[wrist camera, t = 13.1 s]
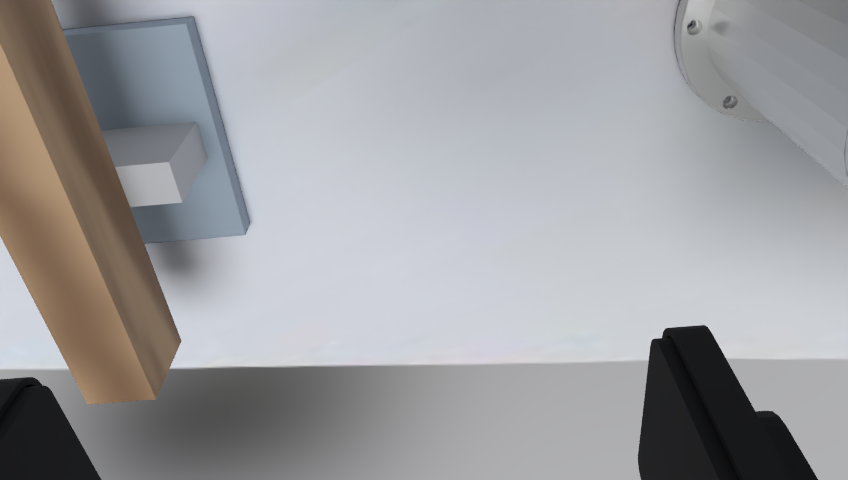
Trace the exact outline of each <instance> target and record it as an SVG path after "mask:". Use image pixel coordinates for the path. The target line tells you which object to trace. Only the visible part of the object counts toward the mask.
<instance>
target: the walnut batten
mask: <svg viewBox="0 0 848 480" xmlns="http://www.w3.org/2000/svg"><path fill="white" fill-rule="evenodd" d="M0 236H1V238H2V240H3V242H4V244H5V246H6V248H7V250H8V252H9V254H10V255H11V257H12V259H13V261H14V263H15V265H16V267H17V269H18V271H19V273H20V275H21V277H22V279H23V281H24V282H25V284H26V286H27V288H28V290H29V292H30V294H31V296H32V298H33V300H34V302H35V304H36V306H37V308H38V309H39V311H40V313H41V315H42V317H43V319H44V321H45V323H46V325H47V327H48V329H49V331H50V333H51V335H52V336H53V338H54V340H55V342H56V344H57V346H58V348H59V350H60V352H61V354H62V356H63V358H64V360H65V362H66V363H67V365H68V367H69V369H70V371H71V373H72V375H73V377H74V379H75V381H76V383H77V385H78V387H79V389H80V390H81V392H82V394H83V396H84V398H85V400H86V402H87V404H99V403H113V402H125V401H139V400H152V399H156V397H157V395H158V393H159V391H160V388H161V386H162V384H163V382H164V379H165V377H166V375H167V372H168V370H169V368H170V366H171V363H172V361H173V359H174V356H175V354H176V352H177V350H178V347H179V345H180V343H181V339H180V336H179V334H178V331H177V328H176V326H175V323H174V321H173V318H172V315H171V313H170V310H169V307H168V305H167V302H166V300H165V297H164V294H163V292H162V289H161V287H160V284H159V281H158V279H157V276H156V274H155V271H154V268H153V266H152V263H151V260H150V258H149V255H148V253H147V250H146V247H145V245H144V242H143V240H142V237H141V234H140V232H139V229H138V226H137V224H136V221H135V219H134V216H133V213H132V211H131V208H130V206H129V203H128V200H127V198H126V195H125V192H124V190H123V187H122V185H121V182H120V179H119V177H118V174H117V172H116V169H115V166H114V164H113V161H112V158H111V156H110V153H109V151H108V148H107V145H106V143H105V140H104V138H103V135H102V132H101V130H100V127H99V124H98V122H97V119H96V117H95V114H94V111H93V109H92V106H91V104H90V101H89V98H88V96H87V93H86V90H85V88H84V85H83V83H82V80H81V77H80V75H79V72H78V70H77V67H76V64H75V62H74V59H73V56H72V54H71V51H70V49H69V46H68V43H67V41H66V38H65V36H64V33H63V30H62V28H61V25H60V22H59V20H58V17H57V15H56V12H55V9H54V7H53V4H52V2H51V0H0Z"/></svg>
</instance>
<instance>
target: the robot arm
mask: <svg viewBox="0 0 848 480" xmlns="http://www.w3.org/2000/svg"><path fill="white" fill-rule="evenodd" d="M692 20H693V24H692V25H691V26H690V27H687V25H688V24H689V23H690V22H691V21H692ZM675 51H676V55H677V59H678V63H679V67H680V69H681V71H682V73H683V75H684V77H685V79H686V81H687V83H688V84H689V86H690V87H691V88H692V89H693V90H694V91H695V93H696V94H697V95H698V96H699V97H700V98H701V99H702V100H703V101H705V102H706V103H707V104H708V105H709V106H710V107H712V108H714V109H715V110H717V111H719V112H720V113H722V114H724V115H727V116H731V117H734V118H737V119H741V120H748V121H759V122H763V121H770V122H771V123H772V124H774V125H775V126H776V127H777V128H778V129H779V130H780V131H782V132H783V133H784V134H785V135H786V136H787V137H789V138H790V139H791V140H792V141H793V142H794V143H795V144H797V145H798V146H799V147H800V148H801V149H802V150H803V151H805V152H806V153H807V154H808V155H809V156H810V157H812V158H813V159H814V160H815V161H816V162H817V163H818V164H820V165H821V166H822V167H823V168H824V169H825V170H826V171H828V172H829V173H830V174H831V175H832V176H833V177H835V178H836V179H837V180H838V181H839V182H840V183H841V184H843V185H844V186H845V187H846V188H847V189H848V0H681V1H680V4H679V7H678V11H677V17H676V24H675ZM726 97H728V98H727V99H726V100H724V99H725V98H726ZM638 465H639V472H640V477H641V480H818V479H817V477H816V475H815V474H814V472H813V470H812V469H811V467H810V465H809V464H808V462H807V460H806V459H805V457H804V455H803V454H802V452H801V450H800V449H799V447H798V445H797V443H796V442H795V440H794V438H793V437H792V435H791V433H790V432H789V430H788V428H787V427H786V425H785V424H784V423H783V421H782V420H781V418H780V417H779V416H778V415H776V414H775V413H774V412H772V411H758V412H755V410H754V408H753V407H752V405H751V403H750V401H749V399H748V398H747V396H746V394H745V392H744V390H743V389H742V387H741V385H740V383H739V381H738V380H737V378H736V376H735V374H734V373H733V371H732V369H731V367H730V365H729V363H728V362H727V360H726V358H725V356H724V354H723V353H722V351H721V349H720V347H719V345H718V344H717V342H716V340H715V338H714V336H713V335H712V333H711V331H710V330H709V329H708V327H706V326H705V325H702V326H689V327H676V328H666V329H665V330H664V332H663V336H662V338H660V339H653V340H652V342H651V346H650V355H649V365H648V373H647V382H646V391H645V400H644V408H643V417H642V427H641V435H640V444H639V453H638ZM0 480H101V479H100V477H99V475H98V473H97V471H96V470H95V468H94V466H93V465H92V463H91V461H90V459H89V457H88V455H87V454H86V452H85V450H84V448H83V446H82V445H81V443H80V441H79V439H78V438H77V436H76V434H75V432H74V430H73V429H72V427H71V425H70V423H69V421H68V420H67V418H66V416H65V414H64V413H63V411H62V409H61V407H60V406H59V404H58V402H57V400H56V398H55V397H54V395H53V393H52V391H51V390H50V389H49V388H48V387H46V386H42V384H41V383H40V382H39V381H38V380H37V379H35V378H33V377H32V378H31V377H27V378H14V379H1V380H0Z"/></svg>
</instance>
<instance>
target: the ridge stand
mask: <svg viewBox="0 0 848 480" xmlns="http://www.w3.org/2000/svg"><path fill="white" fill-rule="evenodd" d="M63 33H64V36H65V38H66V41H67V43H68V46H69V49H70V51H71V54H72V56H73V59H74V62H75V64H76V67H77V70H78V72H79V75H80V77H81V80H82V83H83V85H84V88H85V90H86V93H87V96H88V98H89V101H90V104H91V106H92V109H93V111H94V114H95V117H96V119H97V122H98V124H99V127H100V130H101V132H102V135H103V138H104V140H105V143H106V145H107V148H108V151H109V153H110V156H111V158H112V161H113V164H114V166H115V169H116V172H117V174H118V177H119V179H120V182H121V185H122V187H123V190H124V192H125V195H126V198H127V200H128V203H129V206H130V208H131V211H132V213H133V216H134V219H135V221H136V224H137V226H138V229H139V232H140V234H141V237H142V240H143V242H144V244H146V243H158V242H169V241H181V240H193V239H204V238H216V237H228V236H239V235H246V232H247V230H248V227H249V225H250V222H249V218H248V214H247V211H246V207H245V203H244V200H243V196H242V192H241V189H240V185H239V181H238V178H237V174H236V170H235V167H234V163H233V159H232V156H231V152H230V148H229V145H228V141H227V137H226V134H225V130H224V127H223V123H222V119H221V116H220V112H219V108H218V105H217V101H216V97H215V94H214V90H213V86H212V83H211V79H210V75H209V72H208V68H207V64H206V61H205V57H204V53H203V50H202V46H201V42H200V39H199V35H198V31H197V28H196V24H195V20H194V17H186V18H176V19H166V20H156V21H146V22H136V23H125V24H115V25H105V26H95V27H85V28H75V29H64V30H63Z"/></svg>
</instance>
